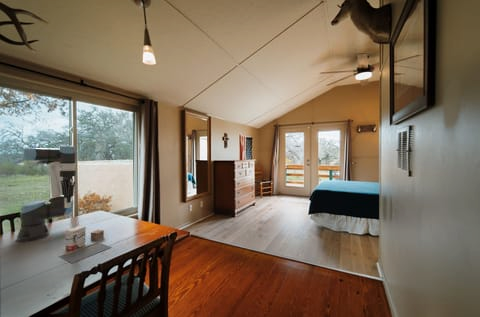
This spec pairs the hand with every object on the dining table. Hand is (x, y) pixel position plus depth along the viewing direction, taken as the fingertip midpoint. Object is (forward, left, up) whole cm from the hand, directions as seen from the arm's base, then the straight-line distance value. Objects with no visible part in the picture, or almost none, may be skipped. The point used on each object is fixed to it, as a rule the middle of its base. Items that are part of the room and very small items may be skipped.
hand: (67, 207), depth 125 cm
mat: (+22, 0, -23) cm, 32 cm away
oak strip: (+15, 0, -23) cm, 28 cm away
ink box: (+10, 0, -23) cm, 25 cm away
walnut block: (+8, +13, -23) cm, 28 cm away
